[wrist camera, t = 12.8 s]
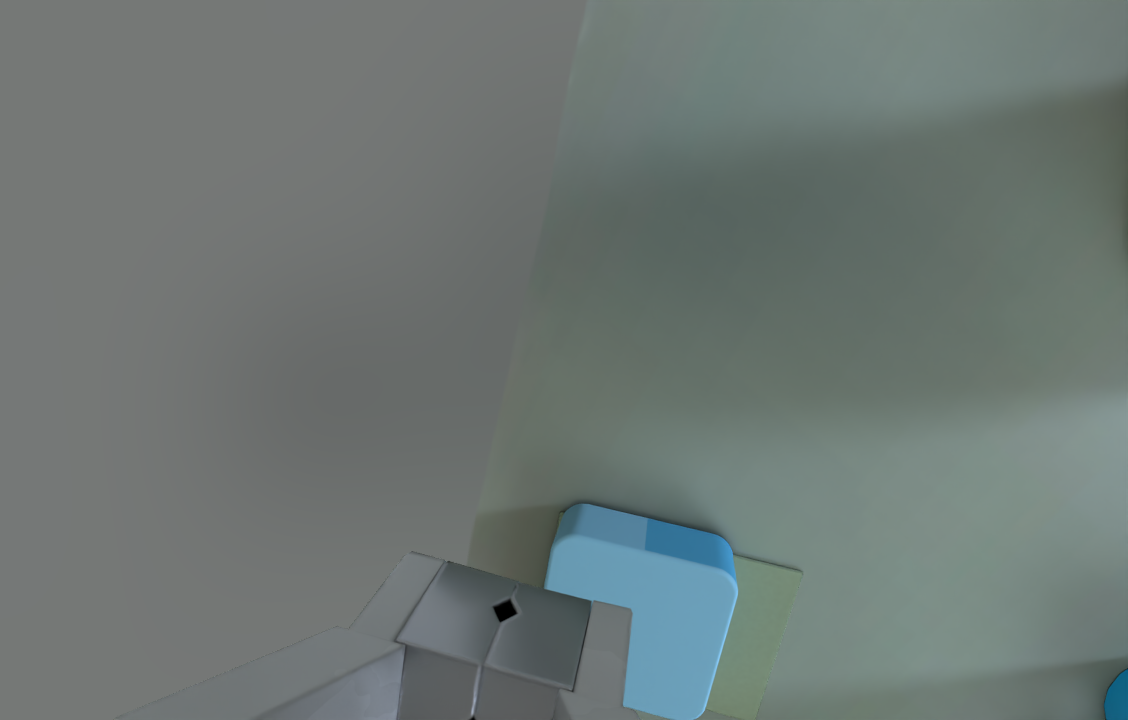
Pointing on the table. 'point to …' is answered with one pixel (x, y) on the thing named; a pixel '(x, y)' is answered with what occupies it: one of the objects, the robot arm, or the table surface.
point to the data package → (652, 599)
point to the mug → (1117, 699)
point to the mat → (751, 636)
